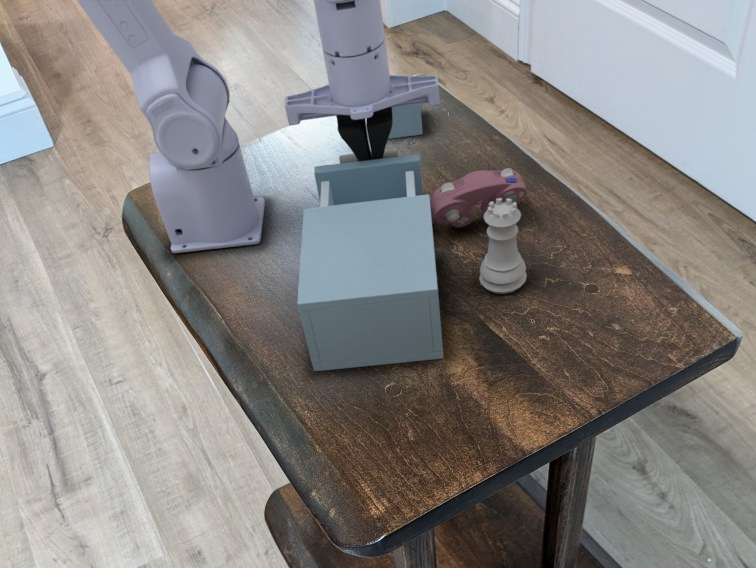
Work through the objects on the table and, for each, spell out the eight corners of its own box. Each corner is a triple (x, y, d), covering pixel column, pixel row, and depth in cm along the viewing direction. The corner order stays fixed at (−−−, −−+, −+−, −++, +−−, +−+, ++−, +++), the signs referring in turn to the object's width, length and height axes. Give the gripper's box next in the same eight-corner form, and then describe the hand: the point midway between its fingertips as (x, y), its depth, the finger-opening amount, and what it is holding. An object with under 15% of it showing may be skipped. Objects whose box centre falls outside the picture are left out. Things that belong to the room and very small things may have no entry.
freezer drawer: (325, 193, 92) (315, 142, 88) (422, 181, 91) (417, 129, 87) (321, 294, 82) (310, 242, 77) (430, 282, 81) (425, 229, 76)
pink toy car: (432, 248, 88) (436, 211, 81) (420, 209, 89) (423, 169, 82) (524, 225, 89) (536, 186, 82) (511, 186, 90) (522, 144, 83)
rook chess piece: (469, 283, 82) (465, 208, 75) (501, 260, 83) (501, 185, 77) (504, 302, 79) (503, 227, 73) (536, 278, 81) (539, 203, 75)
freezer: (318, 276, 85) (303, 208, 79) (435, 263, 84) (429, 193, 78) (313, 371, 77) (297, 304, 71) (443, 358, 76) (437, 288, 70)
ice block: (384, 139, 99) (380, 101, 96) (384, 119, 102) (379, 82, 98) (422, 134, 99) (419, 96, 95) (421, 115, 101) (417, 77, 98)
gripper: (271, 75, 76) (303, 210, 86) (436, 51, 74) (447, 192, 85) (276, 38, 80) (306, 172, 91) (432, 15, 79) (443, 153, 89)
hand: (374, 179), depth 88 cm, fingers closed, pressing on freezer drawer
